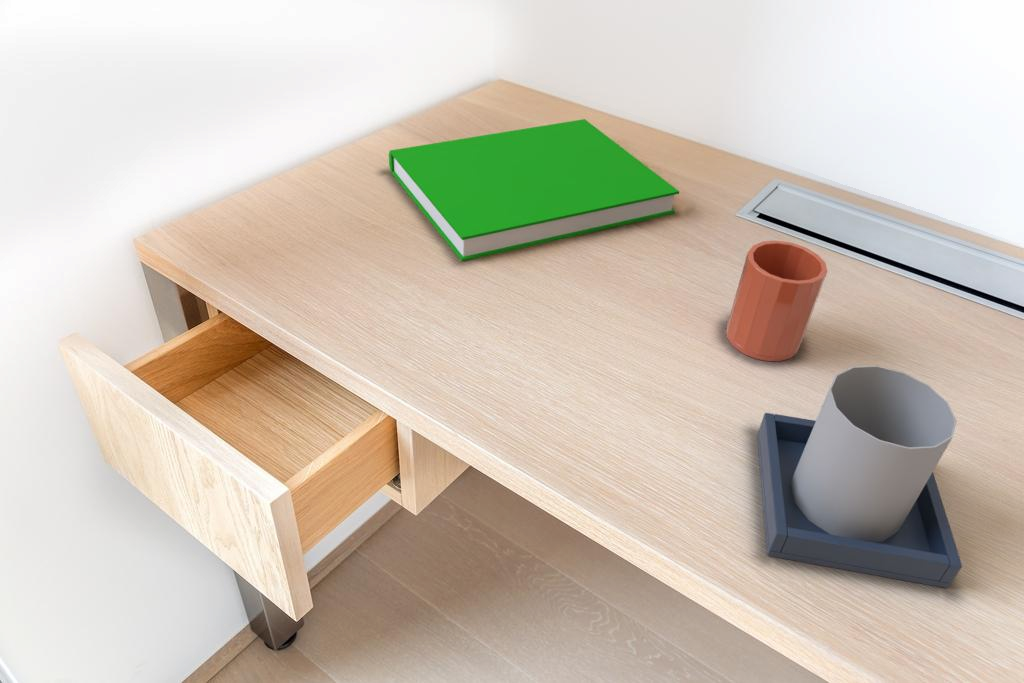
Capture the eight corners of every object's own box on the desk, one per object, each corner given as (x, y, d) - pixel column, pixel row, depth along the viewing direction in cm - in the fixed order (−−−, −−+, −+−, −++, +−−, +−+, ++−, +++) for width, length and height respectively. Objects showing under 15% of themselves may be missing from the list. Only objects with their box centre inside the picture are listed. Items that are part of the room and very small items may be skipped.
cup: (786, 522, 59) (827, 427, 53) (793, 447, 66) (830, 354, 59) (905, 556, 58) (962, 462, 51) (900, 476, 64) (951, 383, 57)
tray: (910, 459, 66) (922, 437, 64) (947, 588, 56) (962, 566, 55) (756, 434, 67) (764, 412, 66) (767, 555, 58) (776, 533, 56)
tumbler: (795, 322, 80) (822, 246, 75) (802, 366, 75) (831, 288, 69) (725, 312, 81) (746, 236, 75) (727, 355, 76) (750, 276, 70)
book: (674, 213, 96) (679, 191, 94) (461, 261, 85) (462, 237, 84) (580, 137, 111) (582, 117, 110) (389, 170, 101) (388, 148, 99)
